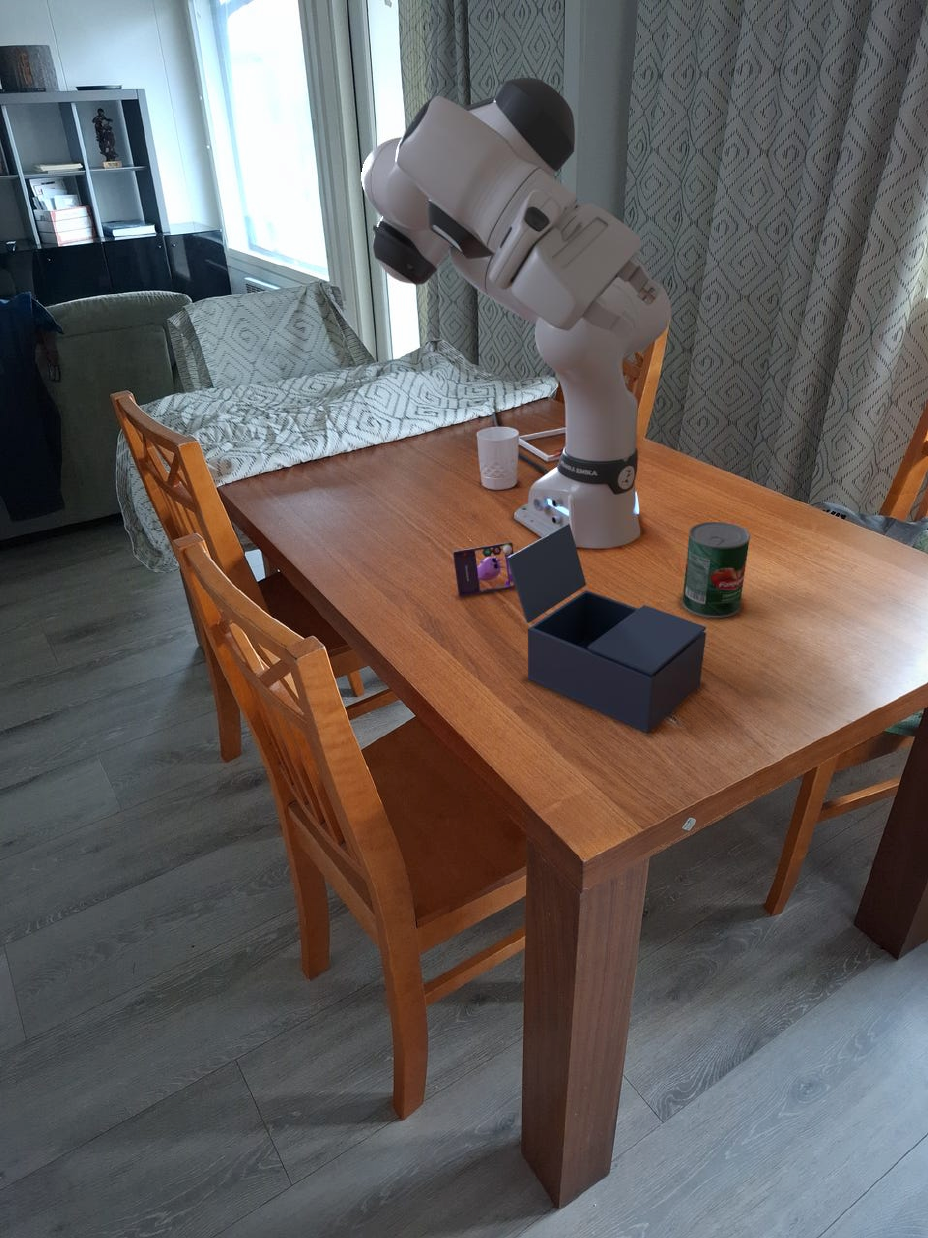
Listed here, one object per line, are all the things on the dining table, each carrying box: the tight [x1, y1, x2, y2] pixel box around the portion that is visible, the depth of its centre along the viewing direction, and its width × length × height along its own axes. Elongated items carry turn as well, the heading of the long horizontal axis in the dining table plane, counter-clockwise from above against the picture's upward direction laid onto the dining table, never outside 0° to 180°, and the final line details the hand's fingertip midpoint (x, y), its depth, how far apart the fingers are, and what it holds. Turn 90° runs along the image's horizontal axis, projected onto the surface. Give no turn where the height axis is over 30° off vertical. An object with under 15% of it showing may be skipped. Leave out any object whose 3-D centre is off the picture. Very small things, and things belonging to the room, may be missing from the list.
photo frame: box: [519, 427, 566, 462], centre depth 176 cm, size 15×1×18 cm
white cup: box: [476, 426, 520, 491], centre depth 156 cm, size 8×8×10 cm
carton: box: [527, 589, 707, 734], centre depth 99 cm, size 17×12×8 cm
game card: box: [452, 541, 516, 598], centre depth 123 cm, size 7×5×9 cm
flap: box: [507, 524, 587, 624], centre depth 101 cm, size 8×12×1 cm
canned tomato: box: [681, 521, 751, 619], centre depth 113 cm, size 8×8×11 cm
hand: (644, 313), depth 84 cm, fingers open, 8 cm apart
